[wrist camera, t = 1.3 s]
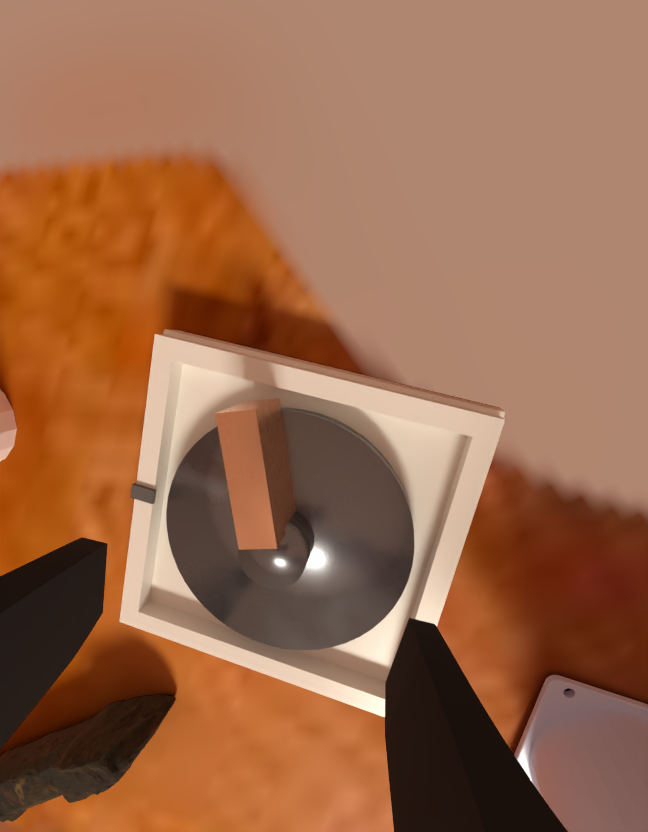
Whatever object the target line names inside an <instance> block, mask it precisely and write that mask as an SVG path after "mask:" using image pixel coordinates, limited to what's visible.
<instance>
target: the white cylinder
mask: <svg viewBox="0 0 648 832" xmlns="http://www.w3.org/2000/svg"><path fill="white" fill-rule="evenodd" d="M16 431H17V427H16V422H15V417H14V411H13V409H12V407H11V405H10V403H9V401H8V400H7V398H6V396H5V394H4V393H3V392H2V391H1V390H0V461H2V460H3V459H5V458H6V457H7V456H8V454H9V453H10V451H11V450H12V448H13V447H14V443H15V437H16Z"/></svg>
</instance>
